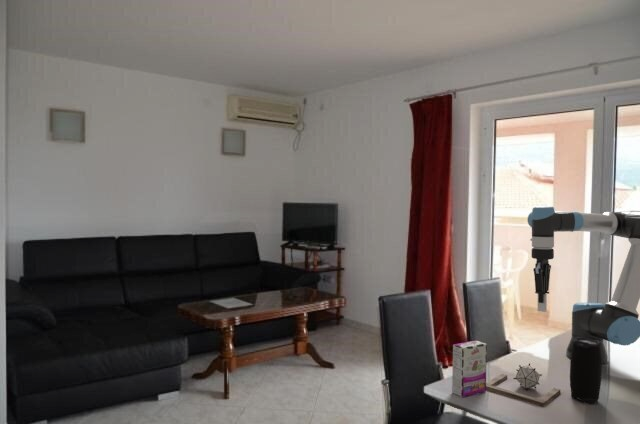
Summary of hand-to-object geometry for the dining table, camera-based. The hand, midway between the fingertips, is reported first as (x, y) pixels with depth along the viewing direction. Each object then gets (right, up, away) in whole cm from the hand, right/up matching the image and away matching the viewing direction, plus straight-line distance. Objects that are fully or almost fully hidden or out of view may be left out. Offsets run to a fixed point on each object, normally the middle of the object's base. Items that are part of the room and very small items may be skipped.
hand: (542, 311), depth 180 cm
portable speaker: (+3, -25, -22) cm, 33 cm away
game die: (-12, -24, -14) cm, 30 cm away
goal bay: (-14, -24, -16) cm, 32 cm away
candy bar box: (-33, -23, -19) cm, 45 cm away
